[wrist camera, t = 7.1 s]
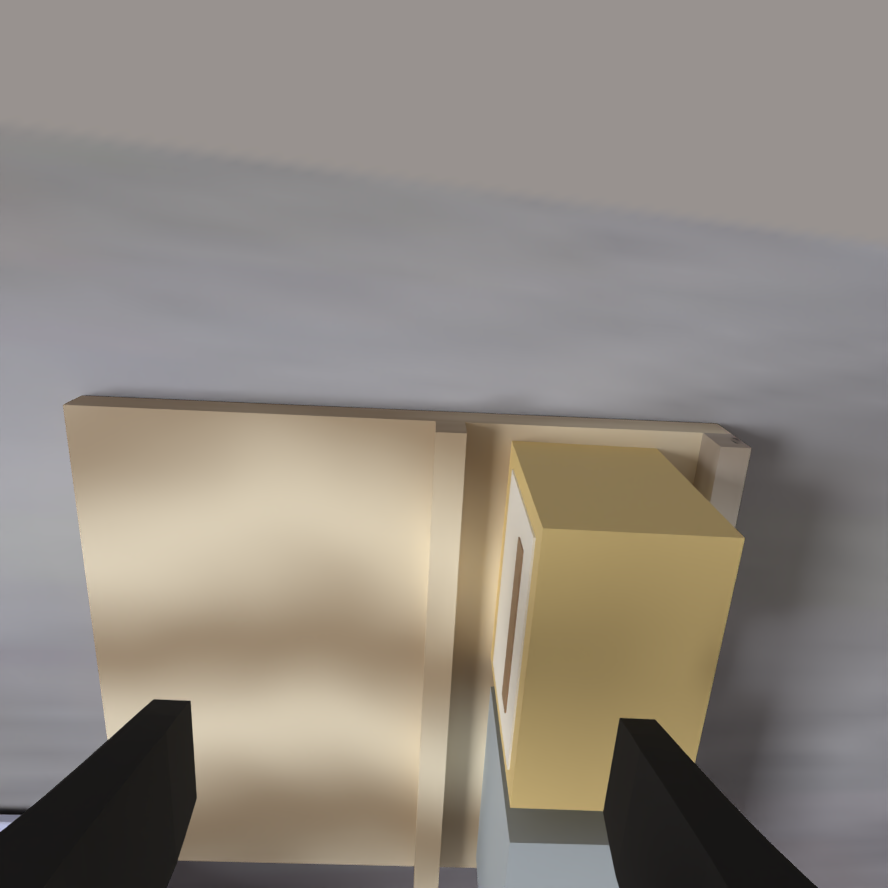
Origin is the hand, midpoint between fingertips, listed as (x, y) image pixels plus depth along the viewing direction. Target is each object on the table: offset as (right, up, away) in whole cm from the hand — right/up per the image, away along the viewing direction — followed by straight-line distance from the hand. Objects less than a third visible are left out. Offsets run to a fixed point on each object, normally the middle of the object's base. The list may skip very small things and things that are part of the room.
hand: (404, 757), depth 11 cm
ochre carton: (+4, +2, +8) cm, 9 cm away
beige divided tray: (-1, -1, +10) cm, 10 cm away
